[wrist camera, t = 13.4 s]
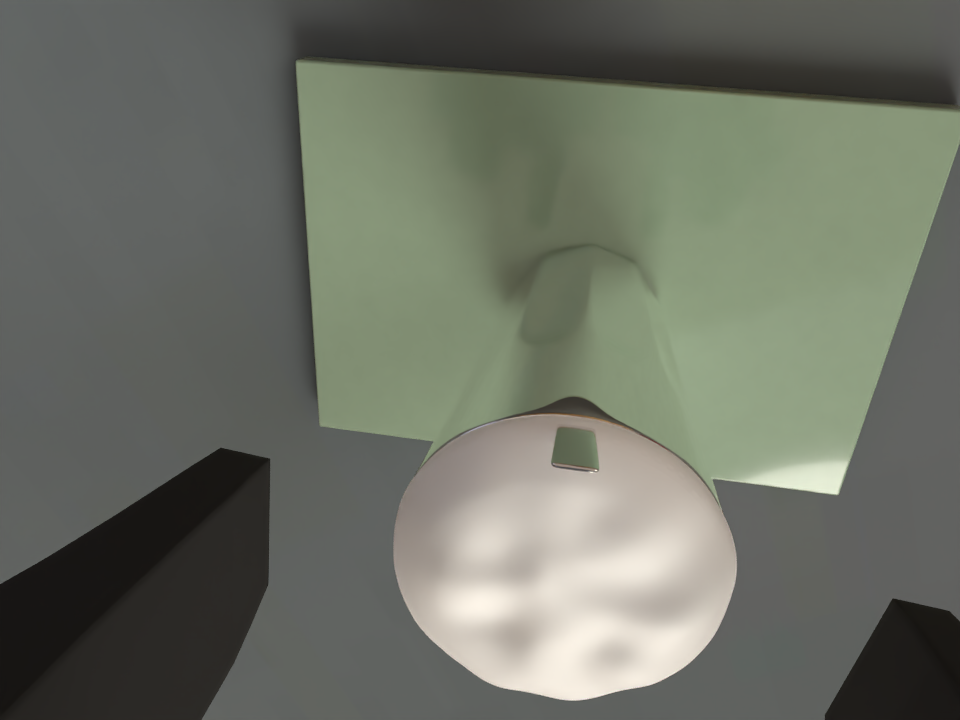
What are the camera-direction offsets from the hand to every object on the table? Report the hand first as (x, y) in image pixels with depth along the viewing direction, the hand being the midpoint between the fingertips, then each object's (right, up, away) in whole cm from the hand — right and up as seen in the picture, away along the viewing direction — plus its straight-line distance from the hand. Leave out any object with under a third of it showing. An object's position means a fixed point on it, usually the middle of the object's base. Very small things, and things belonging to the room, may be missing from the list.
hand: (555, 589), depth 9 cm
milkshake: (+2, +4, +8) cm, 9 cm away
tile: (+2, +4, +9) cm, 10 cm away
